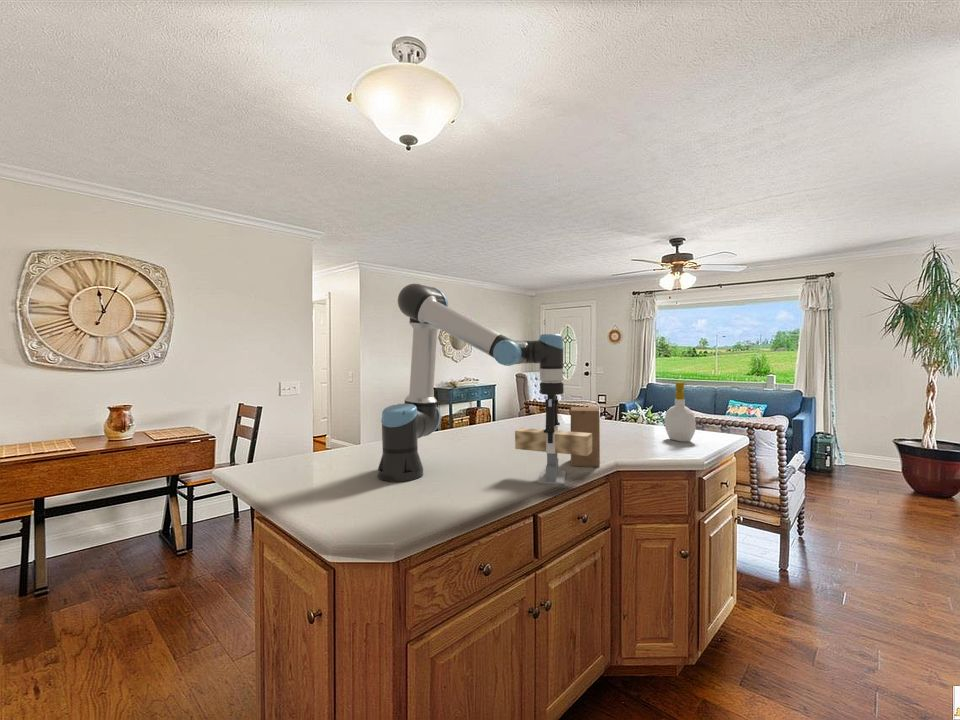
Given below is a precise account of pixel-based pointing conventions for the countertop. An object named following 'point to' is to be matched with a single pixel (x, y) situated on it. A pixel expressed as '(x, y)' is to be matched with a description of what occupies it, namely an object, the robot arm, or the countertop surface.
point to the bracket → (552, 472)
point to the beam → (563, 441)
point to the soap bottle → (680, 418)
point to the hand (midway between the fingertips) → (552, 449)
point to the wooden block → (587, 423)
